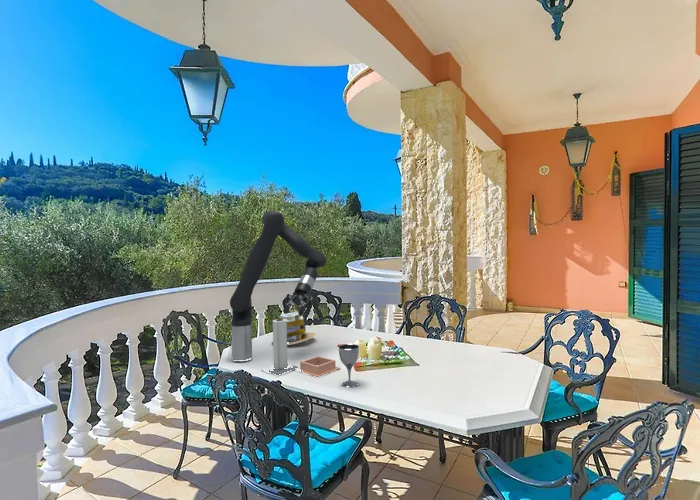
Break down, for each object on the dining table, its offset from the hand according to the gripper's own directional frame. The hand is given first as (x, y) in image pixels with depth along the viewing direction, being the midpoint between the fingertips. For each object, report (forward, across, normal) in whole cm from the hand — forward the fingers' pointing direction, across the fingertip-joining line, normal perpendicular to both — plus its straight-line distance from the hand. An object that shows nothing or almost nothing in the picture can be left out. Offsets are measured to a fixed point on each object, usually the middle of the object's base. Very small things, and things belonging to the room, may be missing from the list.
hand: (292, 313), depth 184 cm
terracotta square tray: (+20, +16, +13) cm, 29 cm away
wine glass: (+26, +36, +7) cm, 45 cm away
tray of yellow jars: (-6, -22, +39) cm, 45 cm away
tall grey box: (+23, 0, +9) cm, 25 cm away
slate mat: (+24, 0, +9) cm, 26 cm away
